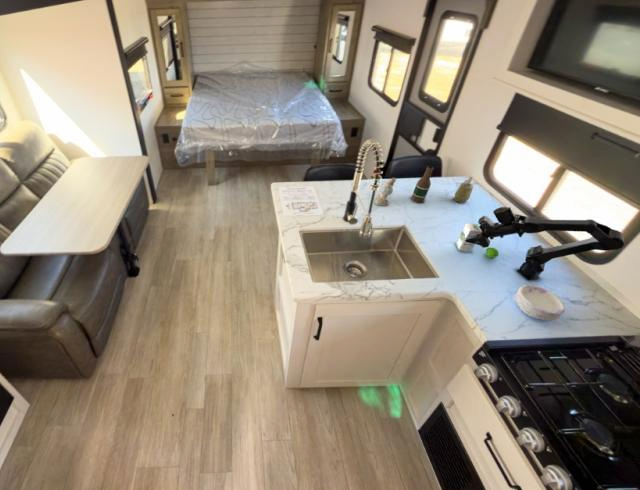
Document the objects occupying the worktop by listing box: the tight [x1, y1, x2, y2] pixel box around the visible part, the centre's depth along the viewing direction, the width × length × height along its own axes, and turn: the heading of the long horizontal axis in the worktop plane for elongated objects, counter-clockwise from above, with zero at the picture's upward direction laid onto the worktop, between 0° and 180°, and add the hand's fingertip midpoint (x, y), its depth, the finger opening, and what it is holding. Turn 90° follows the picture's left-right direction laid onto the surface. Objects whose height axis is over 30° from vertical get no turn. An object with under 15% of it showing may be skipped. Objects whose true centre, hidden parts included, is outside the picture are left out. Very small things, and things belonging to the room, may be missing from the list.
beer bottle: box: [411, 165, 434, 204], centre depth 196 cm, size 8×8×24 cm
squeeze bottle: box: [454, 175, 474, 204], centre depth 197 cm, size 8×8×18 cm
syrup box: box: [455, 223, 482, 253], centre depth 164 cm, size 6×6×14 cm
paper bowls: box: [513, 284, 566, 322], centre depth 135 cm, size 15×15×8 cm
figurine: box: [374, 177, 397, 206], centre depth 196 cm, size 9×8×20 cm
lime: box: [485, 247, 500, 259], centre depth 161 cm, size 5×5×5 cm
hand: (467, 236), depth 164 cm, fingers open, 9 cm apart
